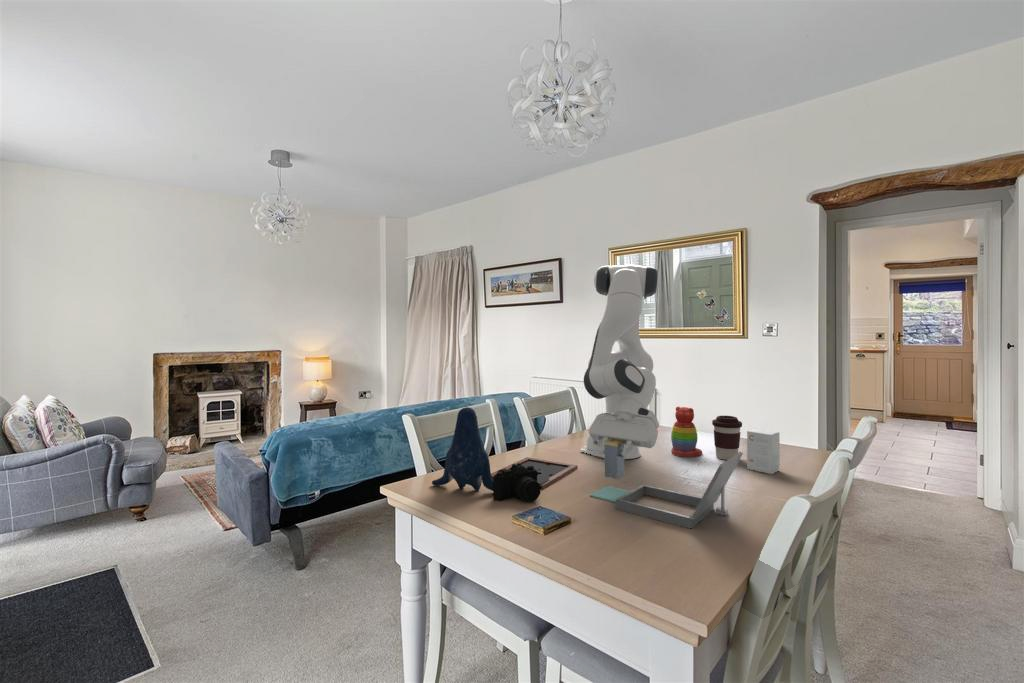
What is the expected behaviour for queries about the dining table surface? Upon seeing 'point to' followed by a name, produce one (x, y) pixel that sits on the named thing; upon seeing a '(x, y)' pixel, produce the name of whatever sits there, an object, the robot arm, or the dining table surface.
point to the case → (682, 498)
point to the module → (614, 459)
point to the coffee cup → (726, 436)
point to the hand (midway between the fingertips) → (613, 454)
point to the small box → (763, 451)
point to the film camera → (516, 483)
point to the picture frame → (545, 470)
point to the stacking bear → (684, 434)
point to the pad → (609, 493)
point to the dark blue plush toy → (467, 455)
